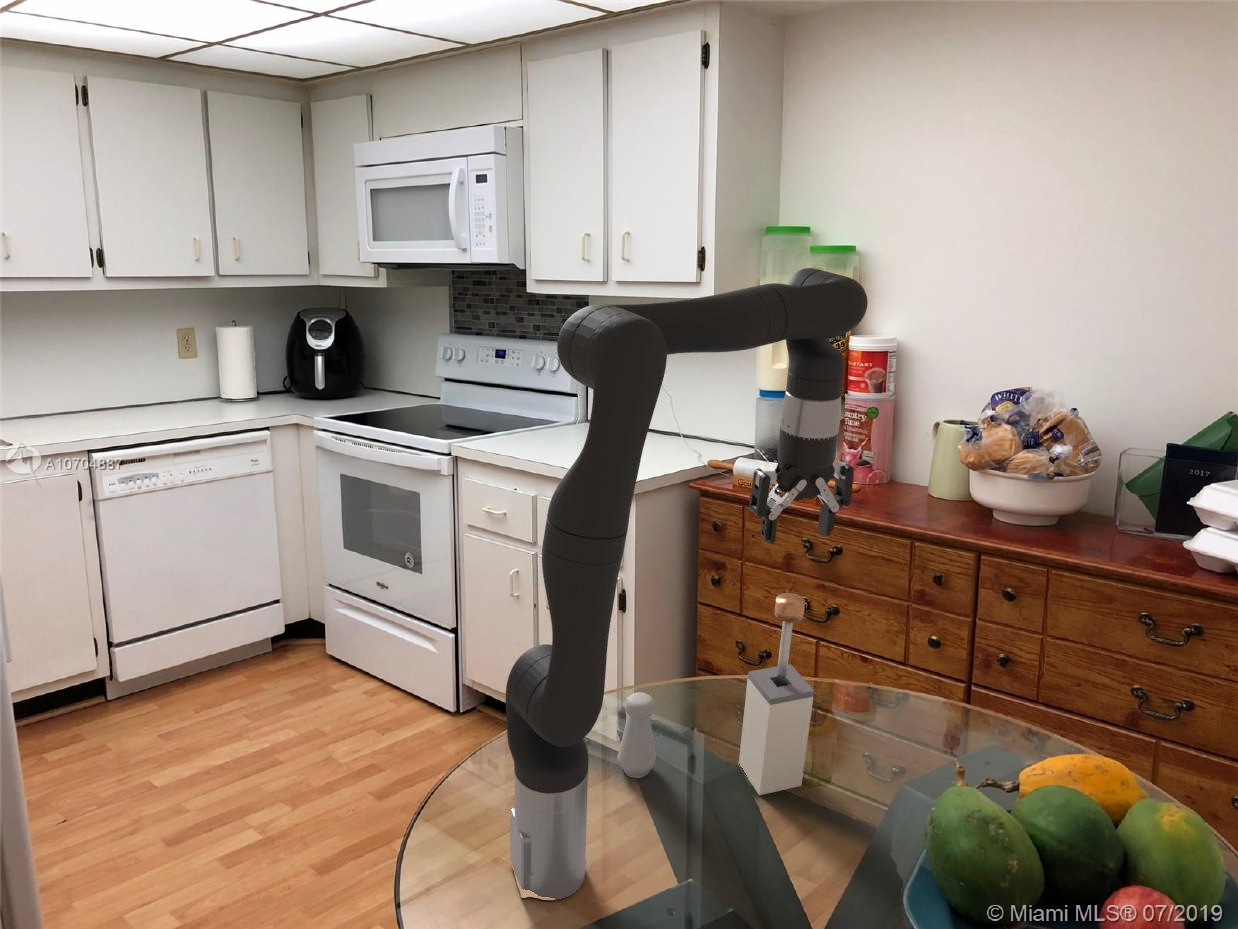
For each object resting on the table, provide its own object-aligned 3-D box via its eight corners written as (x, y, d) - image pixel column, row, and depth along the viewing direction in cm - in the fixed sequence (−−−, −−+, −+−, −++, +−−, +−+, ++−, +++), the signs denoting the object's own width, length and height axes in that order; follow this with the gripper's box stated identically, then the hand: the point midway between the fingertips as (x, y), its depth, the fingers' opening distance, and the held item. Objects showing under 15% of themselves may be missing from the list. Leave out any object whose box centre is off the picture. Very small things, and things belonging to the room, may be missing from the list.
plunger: (771, 715, 140) (784, 610, 133) (757, 697, 144) (769, 594, 137) (798, 709, 141) (812, 605, 135) (784, 692, 145) (796, 590, 138)
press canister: (759, 795, 143) (770, 699, 137) (738, 765, 149) (748, 671, 143) (801, 786, 145) (814, 691, 139) (779, 756, 152) (790, 664, 145)
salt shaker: (651, 786, 144) (656, 713, 139) (613, 779, 145) (617, 707, 140) (657, 760, 150) (662, 690, 145) (621, 754, 151) (624, 684, 146)
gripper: (774, 440, 121) (762, 557, 127) (872, 431, 125) (856, 543, 131) (747, 420, 127) (737, 532, 133) (841, 412, 132) (828, 520, 138)
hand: (796, 537), depth 132 cm, fingers open, 8 cm apart
